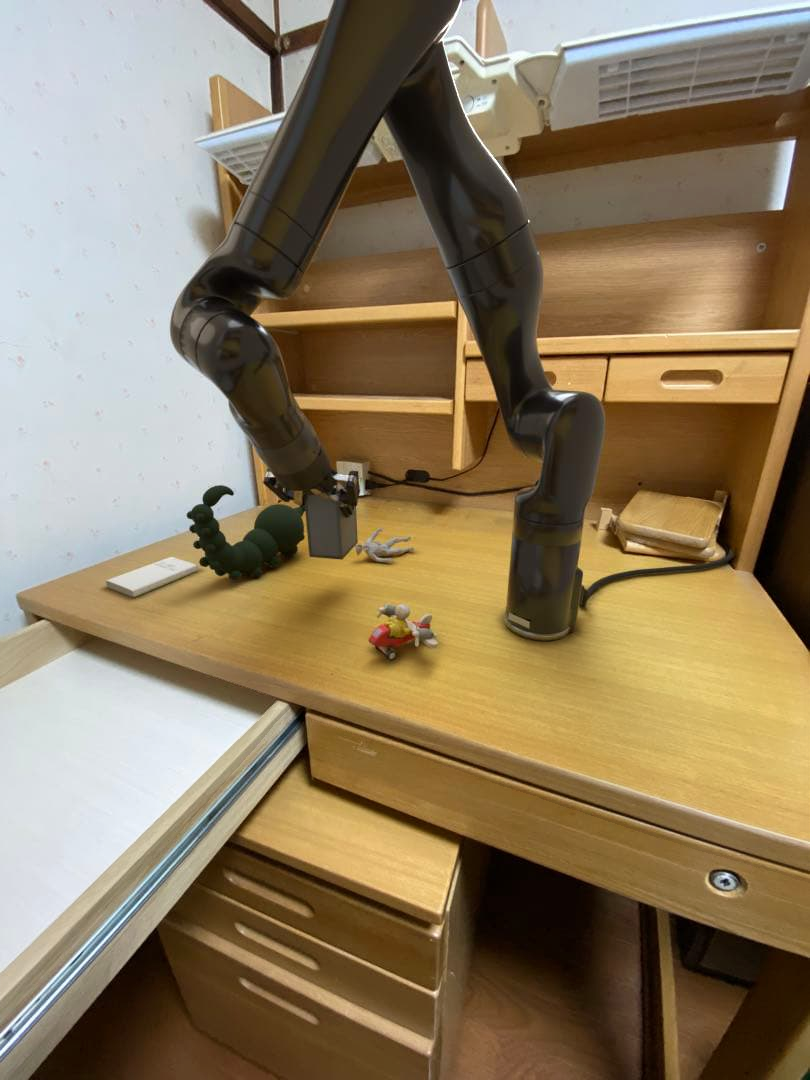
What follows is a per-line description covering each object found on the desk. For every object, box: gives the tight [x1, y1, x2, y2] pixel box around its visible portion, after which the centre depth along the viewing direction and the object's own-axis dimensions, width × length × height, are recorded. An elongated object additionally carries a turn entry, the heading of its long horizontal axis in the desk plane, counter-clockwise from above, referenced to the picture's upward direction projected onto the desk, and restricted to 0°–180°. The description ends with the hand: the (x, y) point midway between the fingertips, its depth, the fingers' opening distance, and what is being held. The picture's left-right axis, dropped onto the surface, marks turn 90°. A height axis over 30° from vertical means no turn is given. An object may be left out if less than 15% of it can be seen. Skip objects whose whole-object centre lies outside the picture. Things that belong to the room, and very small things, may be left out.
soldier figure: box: [354, 526, 415, 563], centre depth 92 cm, size 8×5×12 cm
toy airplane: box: [368, 602, 439, 661], centre depth 63 cm, size 9×9×6 cm
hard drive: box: [105, 556, 199, 598], centre depth 84 cm, size 2×8×12 cm
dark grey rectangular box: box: [304, 492, 359, 560], centre depth 74 cm, size 11×6×8 cm
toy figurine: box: [186, 484, 306, 582], centre depth 86 cm, size 9×19×25 cm
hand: (330, 511), depth 73 cm, fingers closed on dark grey rectangular box, 5 cm apart
